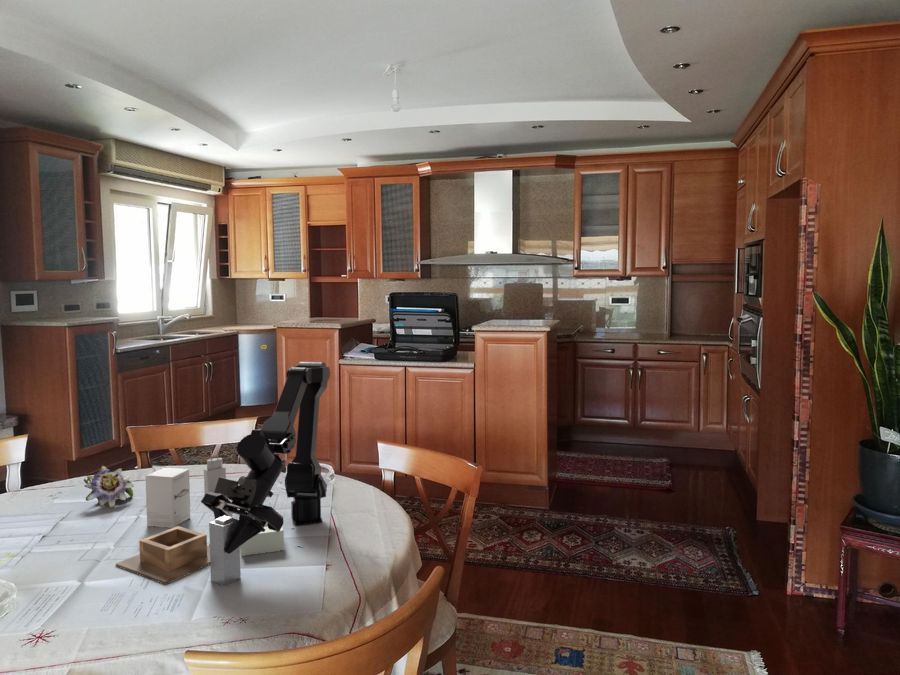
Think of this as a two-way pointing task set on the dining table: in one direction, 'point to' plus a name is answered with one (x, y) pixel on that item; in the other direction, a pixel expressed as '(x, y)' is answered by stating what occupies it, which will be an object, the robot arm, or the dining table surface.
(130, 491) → the passion flower
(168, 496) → the supplement box
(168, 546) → the square sleeve
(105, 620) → the dining table surface
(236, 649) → the dining table surface
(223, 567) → the square bit
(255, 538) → the narrow slot block
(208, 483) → the power adapter
